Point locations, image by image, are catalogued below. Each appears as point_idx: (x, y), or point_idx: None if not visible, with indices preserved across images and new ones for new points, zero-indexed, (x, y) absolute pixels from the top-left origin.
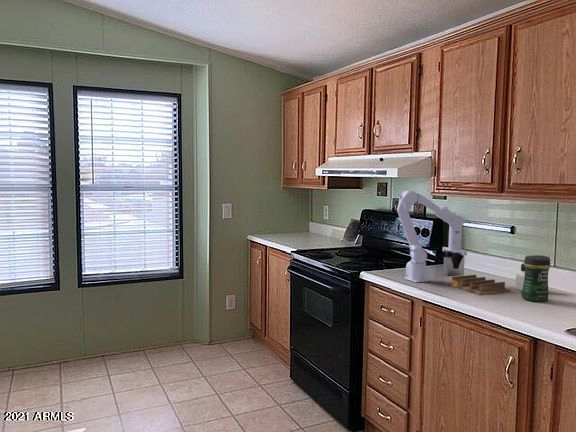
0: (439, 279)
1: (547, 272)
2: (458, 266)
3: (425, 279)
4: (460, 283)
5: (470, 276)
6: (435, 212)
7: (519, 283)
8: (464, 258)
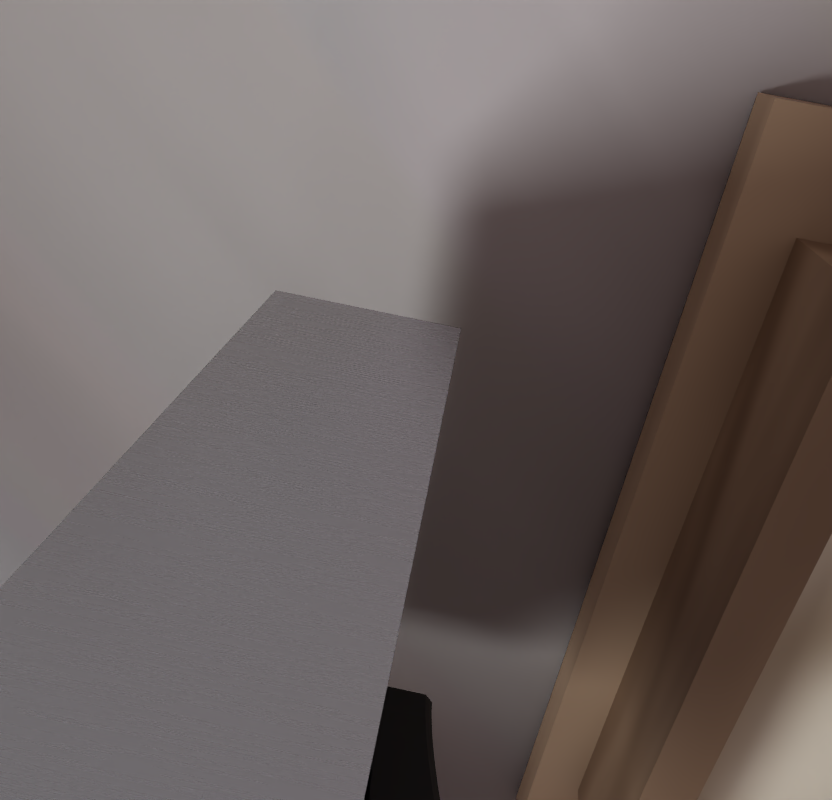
0: None
1: None
2: (426, 773)
3: None
4: (729, 749)
5: (819, 521)
6: None
7: None
8: (363, 782)
